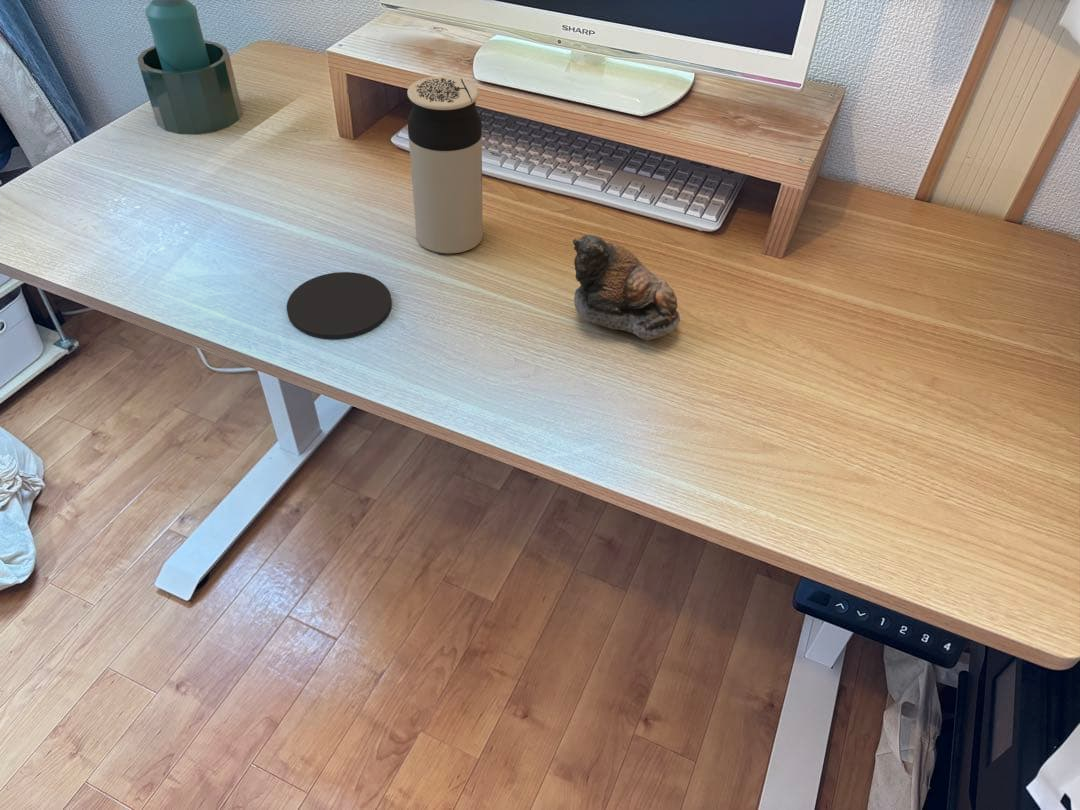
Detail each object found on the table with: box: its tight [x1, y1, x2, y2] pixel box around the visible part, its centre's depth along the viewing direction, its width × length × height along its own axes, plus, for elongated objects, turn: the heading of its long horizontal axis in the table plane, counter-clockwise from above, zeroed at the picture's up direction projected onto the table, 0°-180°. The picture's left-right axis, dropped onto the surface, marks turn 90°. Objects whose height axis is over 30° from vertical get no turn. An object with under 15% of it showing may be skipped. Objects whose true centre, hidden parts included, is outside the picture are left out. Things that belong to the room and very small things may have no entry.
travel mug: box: [406, 75, 484, 254], centre depth 89 cm, size 8×8×18 cm
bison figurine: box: [572, 234, 681, 341], centre depth 81 cm, size 12×7×10 cm, turn 75°
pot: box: [136, 39, 243, 135], centre depth 109 cm, size 11×11×10 cm
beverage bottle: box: [144, 0, 211, 71], centre depth 106 cm, size 6×7×20 cm
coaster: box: [286, 271, 393, 340], centre depth 85 cm, size 11×11×1 cm
